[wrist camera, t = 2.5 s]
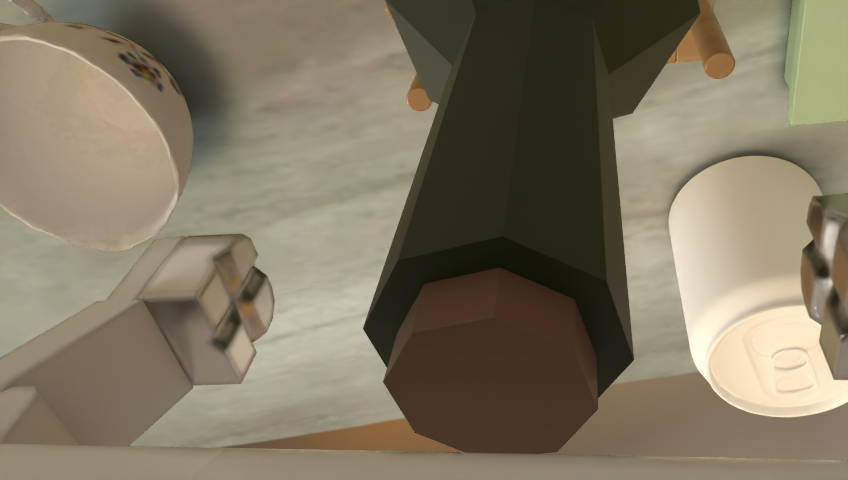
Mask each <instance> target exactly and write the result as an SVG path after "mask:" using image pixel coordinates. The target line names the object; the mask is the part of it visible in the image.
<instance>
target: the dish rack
mask: <svg viewBox="0 0 848 480" xmlns="http://www.w3.org/2000/svg"><path fill="white" fill-rule="evenodd" d="M698 2H699V7H700V15H699V16H698V18H697V19H696V21H695V22H694V23H693V25H692V26H691V28H690V29H689V31H688V32H687V34H686V35H685V37H684V38H683V40H682V41H681V43H680V44H679V45H678V47H677V48H676V50H675V51H674V53H673V54H672V56H671V57H670V59H669V60H668V62H667V63H666V64H669V63H675V62H676V61H677V62H678V63H679V62H687V61H696V60H701V61H702V64H703V67H704V70H705V72H706V74H707V75H708V76H709V77H711V78H715V79H721V78H724V77H726V76H728V75H729V74H730V73H731V72H732V71H733V69H734V67H735V59H734V57H733V55H732V52H731V50H730V48H729V46H728V43H727V41H726V39H725V37H724V34H723V32H722V30H721V28H720V25H719V23H718V21H717V19H716V16H715V14H714V12H713V7H714V0H698ZM385 9H386V12H387V14H388V15H389V16H390V17H391V18H392V19H393V17H392V15H391V13H390V11H389V8H388V6H387V4H386V3H385ZM407 102H408V104H409V106H410V107H411V108H412V109H414V110H417V111H424V110H426V109H428V108H429V107H430V106H431V103H432V101H431V100H429V99H428V97H427V94H426V92H425V90H424V87H423V85H422V83H421V81H420V78H419V76H418V74H417V73H416V75H415V78H414V80H413V82H412V85H411V87H410V89H409V92H408V94H407Z"/></svg>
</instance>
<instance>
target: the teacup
mask: <svg viewBox="0 0 848 480" xmlns="http://www.w3.org/2000/svg"><path fill="white" fill-rule="evenodd" d="M9 1H11V2H13V3H14V4H16V5H17V6H19V7H20V8H21V9H22V10H24V11H25V12H26V13H27V14H28V15H30V16H31V17H33V18H35V19H36V20H37V21H38V22H39V24H31V25H25V26H21V27H18V26H15V25H10V24H3V23H0V206H1V207H2V208H4V209H5V210H6V211H7V212H8V213H10V214H11V215H13V216H15V217H17V218H18V219H20V220H21V221H23V222H24V223H26V224H27V225H29V226H30V227H32V228H34V229H36V230H39V231H43V232H46V233H48V234H49V235H52V236H54V237H57V238H60V239H62V240H64V241H66V242H68V243H69V244H71V245H72V246H77V247H82V248H84V247H93V248H95V249H97V250H109V251H117V250H120V249H124V250H125V249H128V248H131V247H134V246H135V245H137V244H139V243H141V242H143V241H145V240H147V239H149V238H151V237H152V236H154V235H156V234H157V233H158V232H159V231H160V230H161V229H162V228H163V226H164V225H165V224H166V223H167V222H168V220H169V218H170V216H171V214H172V212H173V210H174V208H175V206H176V204H177V203H178V200H179V198H180V196H181V194H182V191H183V189H184V186H185V184H186V181H187V178H188V174H189V171H190V167H191V161H192V154H193V129H192V122H191V117H190V113H189V110H188V107H187V103H186V101H185V98H184V96H183V94H182V92H181V90H180V88H179V86H178V84H177V83H176V81H175V80H174V78H173V77H172V75H171V74H170V73H169V72H168V70H167V69H166V68H165V67H164V66H163V65H162V64H161V62H160V61H158V60H157V59H156V58H155V57H154V56H153V55H151V54H150V53H149V52H148V51H146V50H145V49H144V48H142V47H141V46H139V45H137V44H136V43H134V42H132V41H131V40H129V39H127V38H125V37H123V36H121V35H119V34H116V33H114V32H111V31H108V30H105V29H102V28H98V27H94V26H90V25H84V24H77V23H63V22H55V21H54V20H53V18H52V17H51V16H50V15H49V14H47V13H46V12H45V11H44V10H43V9H42V8H41V7H40V6H39V5H38V4H37V3H36V2H35V1H34V0H9Z"/></svg>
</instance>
